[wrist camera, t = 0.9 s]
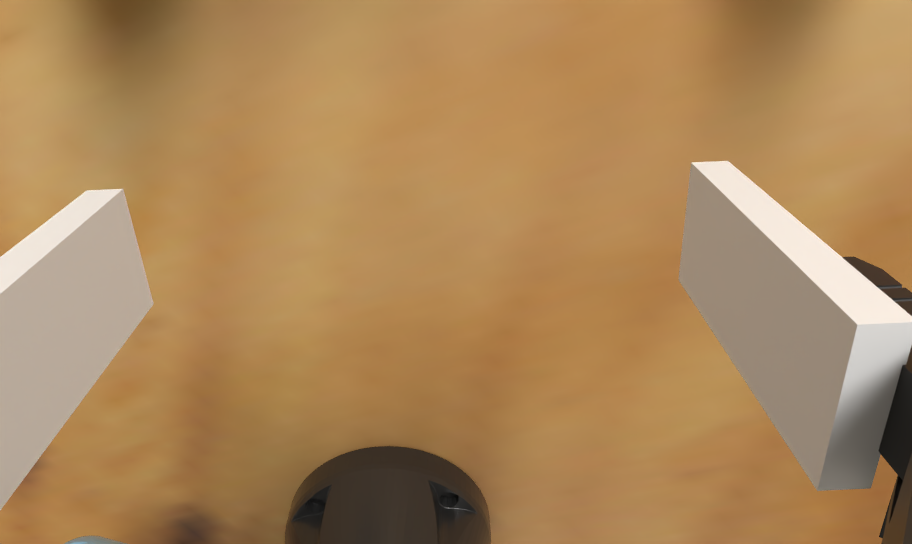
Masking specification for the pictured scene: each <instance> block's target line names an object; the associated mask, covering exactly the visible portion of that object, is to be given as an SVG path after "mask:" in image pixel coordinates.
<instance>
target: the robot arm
mask: <svg viewBox="0 0 912 544" xmlns="http://www.w3.org/2000/svg"><path fill="white" fill-rule="evenodd" d="M679 281H680V283H681V284H682V286H683V287H684V289H685V291H686V292H687V294H688V295H689V297H690V298H691V300H692V301H693V303H694V304H695V306H696V307H697V309H698V310H699V312H700V313H701V315H702V316H703V318H704V319H705V321H706V322H707V324H708V325H709V327H710V328H711V330H712V332H713V333H714V335H715V336H716V338H717V339H718V341H719V342H720V344H721V345H722V347H723V348H724V350H725V351H726V353H727V354H728V356H729V357H730V359H731V360H732V362H733V363H734V365H735V366H736V368H737V369H738V371H739V373H740V374H741V376H742V377H743V379H744V380H745V382H746V383H747V385H748V386H749V388H750V389H751V391H752V392H753V394H754V395H755V397H756V398H757V400H758V401H759V403H760V404H761V406H762V407H763V409H764V411H765V412H766V414H767V415H768V417H769V418H770V420H771V421H772V423H773V424H774V426H775V427H776V429H777V430H778V432H779V433H780V435H781V436H782V438H783V439H784V441H785V442H786V444H787V445H788V447H789V448H790V450H791V452H792V453H793V455H794V456H795V458H796V459H797V461H798V462H799V464H800V465H801V467H802V468H803V470H804V471H805V473H806V474H807V476H808V477H809V479H810V480H811V482H812V483H813V485H814V486H815V488H816V489H817V491H821V490H843V489H865V488H871V486H872V482H873V479H874V475H875V472H876V468H877V465H878V461H879V458H880V454H881V455H882V456H883V457H884V458H885V460H886V461H887V462H888V463H889V465H890V466H891V467H892V468H893V469H894V471H895V472H896V473H897V474H898V476H897V480H896V483H895V486H894V490H893V493H892V496H891V499H890V503H889V506H888V509H887V512H886V516H885V519H884V522H883V526H882V529H881V532H880V535H879V537H881V538H883V539H882V544H912V292H910V291H909V290H908V289H906V288H902V285H901V284H900V283H899V282H898V281H896V280H895V279H894V278H893V277H891V276H890V275H889V274H888V273H886V272H885V271H884V270H883V269H880V268H878V267H876V266H874V265H871V264H869V263H867V262H865V261H862V260H860V259H858V258H856V257H841V256H840V255H839V254H837V253H836V252H835V251H834V250H833V249H832V248H830V247H829V246H828V245H827V244H826V243H824V242H823V241H822V240H821V239H820V238H818V237H817V236H816V235H815V234H814V233H813V232H811V231H810V230H809V229H808V228H807V227H805V226H804V225H803V224H802V223H801V222H800V221H798V220H797V219H796V218H795V217H794V216H792V215H791V214H790V213H789V212H788V211H787V210H785V209H784V208H783V207H782V206H781V205H779V204H778V203H777V202H776V201H775V200H774V199H772V198H771V197H770V196H769V195H768V194H766V193H765V192H764V191H763V190H762V189H760V188H759V187H758V186H757V185H756V184H755V183H753V182H752V181H751V180H750V179H749V178H747V177H746V176H745V175H744V174H743V173H742V172H740V171H739V170H738V169H737V168H736V167H734V166H733V165H732V164H731V163H730V162H729V161H716V162H694V163H691V170H690V179H689V188H688V197H687V207H686V216H685V225H684V234H683V243H682V252H681V261H680V271H679ZM152 305H153V300H152V296H151V293H150V289H149V285H148V281H147V277H146V274H145V270H144V266H143V262H142V258H141V255H140V251H139V247H138V243H137V240H136V236H135V232H134V228H133V224H132V221H131V217H130V213H129V209H128V205H127V202H126V198H125V194H124V190H123V189H110V190H88V191H85V192H84V193H83V194H82V195H80V196H79V197H78V198H76V199H75V200H74V201H72V202H71V203H70V204H69V205H67V206H66V207H65V208H63V209H62V210H61V211H59V212H58V213H57V214H56V215H54V216H53V217H52V218H50V219H49V220H48V221H47V222H45V223H44V224H43V225H41V226H40V227H39V228H37V229H36V230H35V231H34V232H32V233H31V234H30V235H28V236H27V237H26V238H24V239H23V240H22V241H21V242H19V243H18V244H17V245H15V246H14V247H13V248H12V249H10V250H9V251H8V252H6V253H5V254H4V255H2V256H1V257H0V510H1V509H2V507H3V506H4V505H5V503H6V502H7V501H8V499H9V498H10V497H11V495H12V494H13V493H14V491H15V490H16V489H17V487H18V486H19V485H20V483H21V482H22V480H23V479H24V478H25V476H26V475H27V474H28V472H29V471H30V470H31V468H32V467H33V466H34V464H35V463H36V462H37V460H38V459H39V458H40V456H41V455H42V454H43V452H44V451H45V450H46V448H47V447H48V445H49V444H50V443H51V441H52V440H53V439H54V437H55V436H56V435H57V433H58V432H59V431H60V429H61V428H62V427H63V425H64V424H65V423H66V421H67V420H68V419H69V417H70V416H71V414H72V413H73V412H74V410H75V409H76V408H77V406H78V405H79V404H80V402H81V401H82V400H83V398H84V397H85V396H86V394H87V393H88V392H89V390H90V389H91V388H92V386H93V385H94V384H95V382H96V381H97V379H98V378H99V377H100V375H101V374H102V373H103V371H104V370H105V369H106V367H107V366H108V365H109V363H110V362H111V361H112V359H113V358H114V357H115V355H116V354H117V353H118V351H119V350H120V348H121V347H122V346H123V344H124V343H125V342H126V340H127V339H128V338H129V336H130V335H131V334H132V332H133V331H134V330H135V328H136V327H137V326H138V324H139V323H140V322H141V320H142V319H143V318H144V316H145V315H146V313H147V312H148V311H149V309H150V308H151V307H152ZM65 544H126V543H122V542H119V541H115V540H111V539H108V538H104V537H100V536H83V537H79V538H76V539H73V540H70V541H68V542H66V543H65ZM285 544H491V532H490V520H489V512H488V507H487V504H486V501H485V499H484V497H483V495H482V493H481V491H480V489H479V488H478V487H477V485H476V484H475V483H474V481H473V480H472V479H471V478H470V477H469V476H468V475H467V474H466V473H464V472H463V471H462V470H461V469H459V468H458V467H457V466H455V465H453V464H452V463H450V462H448V461H447V460H445V459H443V458H440V457H438V456H436V455H433V454H430V453H427V452H424V451H420V450H416V449H411V448H404V447H390V446H387V447H371V448H364V449H359V450H355V451H352V452H348V453H345V454H343V455H340V456H338V457H335V458H333V459H331V460H329V461H328V462H326V463H324V464H323V465H321V466H320V467H318V468H317V469H316V470H315V471H313V472H312V473H311V474H310V475H309V476H308V477H307V478H306V479H305V480H304V482H303V483H302V484H301V486H300V487H299V489H298V490H297V492H296V494H295V496H294V499H293V502H292V505H291V509H290V513H289V517H288V521H287V525H286V532H285Z"/></svg>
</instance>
